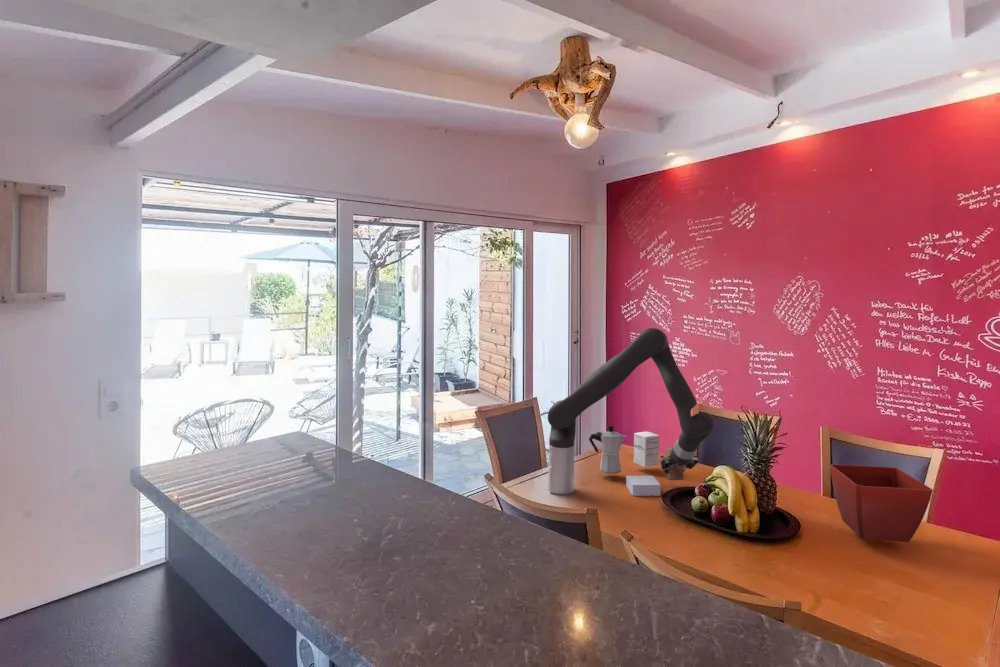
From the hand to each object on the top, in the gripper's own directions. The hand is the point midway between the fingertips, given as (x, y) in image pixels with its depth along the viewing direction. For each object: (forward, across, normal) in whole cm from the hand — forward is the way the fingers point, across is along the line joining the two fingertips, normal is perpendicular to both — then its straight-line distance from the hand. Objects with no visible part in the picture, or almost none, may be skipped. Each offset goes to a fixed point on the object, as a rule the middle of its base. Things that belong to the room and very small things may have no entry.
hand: (672, 471), depth 208 cm
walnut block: (0, 0, +2) cm, 3 cm away
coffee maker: (+8, +23, -4) cm, 25 cm away
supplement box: (+13, +6, -10) cm, 18 cm away
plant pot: (-32, -44, +35) cm, 65 cm away
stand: (0, +13, +8) cm, 15 cm away
